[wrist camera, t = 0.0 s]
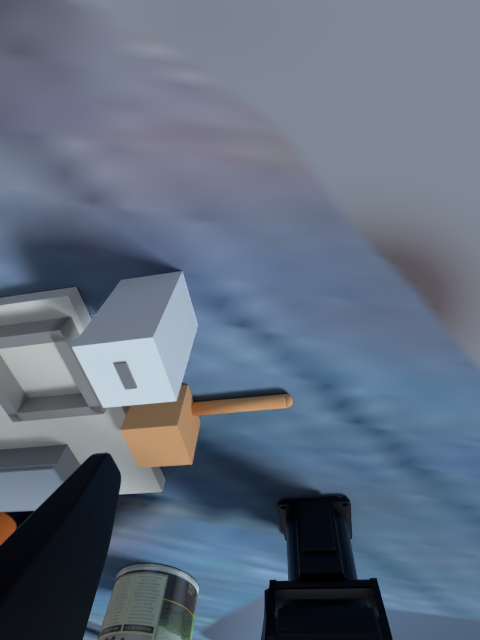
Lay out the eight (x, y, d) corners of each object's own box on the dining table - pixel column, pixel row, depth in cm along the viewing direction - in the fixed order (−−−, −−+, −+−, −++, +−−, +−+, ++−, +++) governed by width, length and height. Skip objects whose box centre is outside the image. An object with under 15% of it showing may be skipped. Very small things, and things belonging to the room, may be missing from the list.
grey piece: (95, 488, 33) (86, 510, 32) (-4, 494, 35) (-18, 515, 33) (67, 444, 30) (55, 465, 29) (-40, 452, 32) (-57, 473, 30)
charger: (197, 325, 25) (176, 402, 19) (141, 332, 25) (102, 409, 19) (182, 271, 23) (152, 338, 17) (120, 279, 23) (70, 348, 17)
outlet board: (165, 479, 34) (158, 508, 32) (9, 489, 36) (-8, 516, 34) (76, 286, 24) (56, 308, 21) (-134, 317, 26) (-173, 339, 24)
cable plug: (295, 413, 29) (298, 457, 25) (153, 425, 30) (139, 467, 27) (289, 374, 27) (292, 416, 23) (137, 388, 28) (119, 429, 25)
